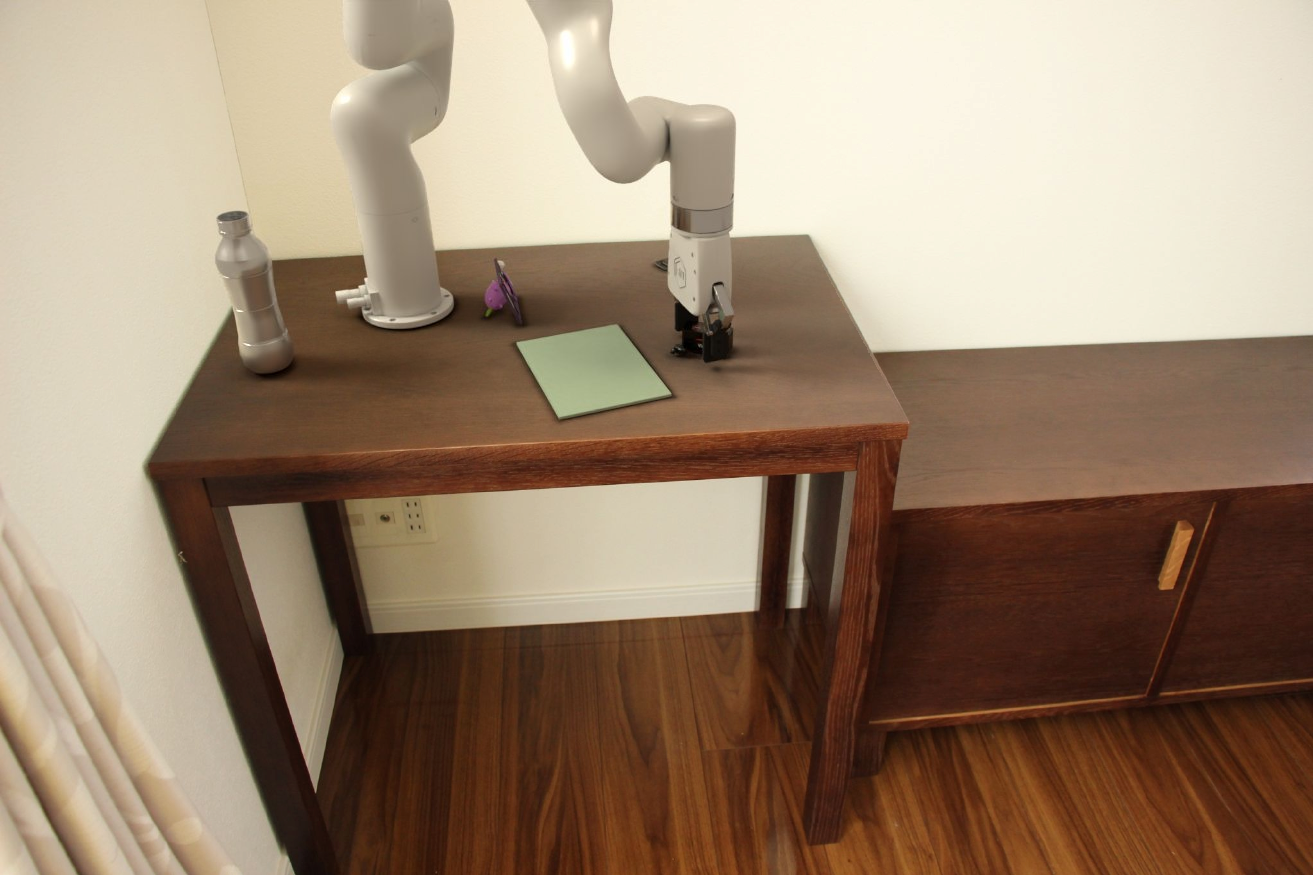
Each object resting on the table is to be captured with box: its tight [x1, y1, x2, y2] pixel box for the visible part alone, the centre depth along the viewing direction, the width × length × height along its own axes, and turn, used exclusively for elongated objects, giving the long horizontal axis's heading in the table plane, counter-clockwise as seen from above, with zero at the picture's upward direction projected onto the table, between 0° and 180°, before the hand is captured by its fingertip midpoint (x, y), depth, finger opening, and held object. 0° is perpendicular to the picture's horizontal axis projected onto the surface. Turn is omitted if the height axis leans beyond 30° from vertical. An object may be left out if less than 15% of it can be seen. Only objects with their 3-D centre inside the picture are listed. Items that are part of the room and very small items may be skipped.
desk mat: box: [516, 323, 673, 421], centre depth 124 cm, size 14×20×1 cm
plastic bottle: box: [214, 210, 295, 375], centre depth 120 cm, size 6×7×20 cm
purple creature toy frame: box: [484, 257, 523, 326], centre depth 136 cm, size 7×5×9 cm
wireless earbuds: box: [669, 321, 734, 357], centre depth 126 cm, size 5×7×3 cm, turn 69°
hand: (700, 343), depth 127 cm, fingers open, 8 cm apart
